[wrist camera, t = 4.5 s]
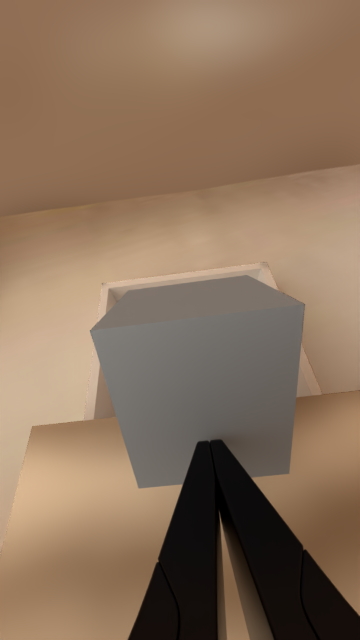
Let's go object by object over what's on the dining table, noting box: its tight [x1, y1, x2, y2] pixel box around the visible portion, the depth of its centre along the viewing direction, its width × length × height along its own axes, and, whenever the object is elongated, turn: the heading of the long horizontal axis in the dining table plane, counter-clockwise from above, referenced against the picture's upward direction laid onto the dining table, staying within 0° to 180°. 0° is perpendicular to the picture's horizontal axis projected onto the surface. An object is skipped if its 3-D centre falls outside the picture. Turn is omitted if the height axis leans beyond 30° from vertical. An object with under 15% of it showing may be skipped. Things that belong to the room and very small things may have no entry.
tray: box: [83, 262, 322, 421], centre depth 21 cm, size 15×18×4 cm
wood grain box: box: [0, 390, 360, 640], centre depth 12 cm, size 13×20×8 cm
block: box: [90, 275, 305, 489], centre depth 9 cm, size 5×6×7 cm
